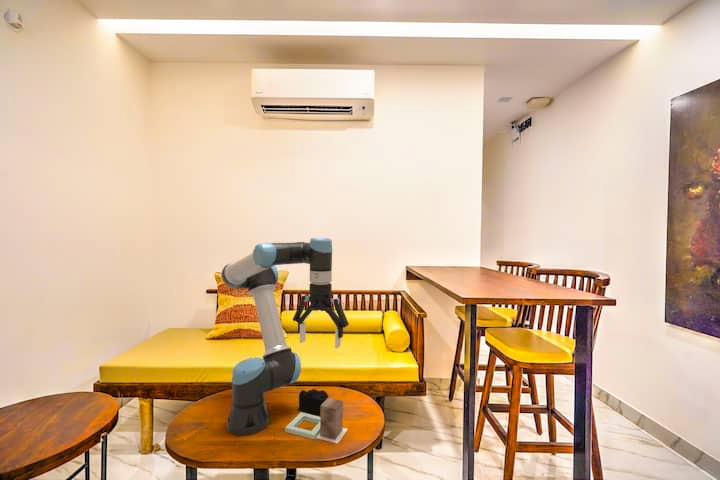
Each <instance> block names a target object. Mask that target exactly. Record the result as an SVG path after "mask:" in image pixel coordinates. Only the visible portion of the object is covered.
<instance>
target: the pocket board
mask: <svg viewBox="0 0 720 480" xmlns="http://www.w3.org/2000/svg"><path fill="white" fill-rule="evenodd" d="M304 421H305V422H309V423H313V424H316V425H315V426H314V427H313V428H312V429H311V430H309V429H305V428H302V427H299V425H301V424H302V423H303V422H304ZM284 428H285V429H284V431H285V433H286V434H291V435H296V436H298V437H303V438H306V439H307V438H308V439H310V440H315V439H317V438H316V437H317V436H318V434H319V433H320V417H319V416H314V415H311V414H308V413H306V412H303V411H301V412H299V413H298V415H296V417H294V418H293V419H292V421H290V423H289V424H287V425H286V426H285V427H284Z"/></svg>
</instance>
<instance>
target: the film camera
mask: <svg viewBox="0 0 720 480" xmlns="http://www.w3.org/2000/svg"><path fill="white" fill-rule="evenodd" d="M327 398H329V395H328V393H327V391H326V390H323V389H322V390H318V389H315V388H311V389H309V390H308V391H306V390H304V389H302V390H301V391H300V392H299V395H298V410H299V411H301V412H302V413H306V414H310V415H314V416H319V417H320V408H321V405H322V403H323V402H324V401H325V400H326V399H327Z"/></svg>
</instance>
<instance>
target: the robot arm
mask: <svg viewBox="0 0 720 480" xmlns="http://www.w3.org/2000/svg"><path fill="white" fill-rule="evenodd" d="M332 241H333V240H332V239H331V238H330V237H311V238H310V239H309V242H305V241H297V242H263V243H257V244H256V245H255V246H254V248H253V251H252V252H251V253H250V254H249V255H246V256H245V257H243V258H241V259H239V260H238V261H237V260H234V261H231V262H229V263H227V264H226V265H225V266H224V267H223V269H222V270H221V274H220V275H221V280H222V282H223V283H224V285H226V286H227V287H229V288H230V289H234V290H243V289H244V290H245V289H247V291H248V295H250V296H252V297H253V301H254V306H255V310H256V314H257V318H258V324H259V329H260V332H261V336H262V340H263V341H262V343H263V345H264V351H265V352H264V353H263V355H262V358H261V357H249V358H246V359H243V360H241V361H239V362H238V363H236V364H235V366H234V367H233V368H232V374H231V389H232V390H231V393H232V394H231V398H232V399H231V408H230V411H229V414H228V418H227V420H226V427H227V428H226V429H227V431H228V432H229V433H230V434H232V435H235V436H249V435H250V436H251V435H253V434H257V433H259V432H261V431H263V430H264V429H265V428H266V427H267V426H268V425H269V422H270V413H269V411H268V408H267V404H266V401H265V393H268V392H270V391H273V390H277V389H280V388H282V387H285V386H289V385H290V384H293V383H296V381H298V380H299V378H300V375H301V372H302V363H301V359H300V356H299V355H298V353H297V352H294V351H292V347H290V346H288V344H287V342H286V338H285V335H284V334H285V333H284V330H283V326H282V321H281V318H280V315H279V314H280V313H279V310H278V305H277V302H276V296H275V293H274V290H276V285H277V284H278V282H279V272H278V268H277V266H281V265H298V264H309V282H310V283H309V291H308V292H309V295H308V294H303V295H302V296H301V297H300V303H299V304H298V307H297V309H296V311H295V314H294V315H293V318H292V321H293V322H296V323H297V332H298V333H299V343H300V344H302V343H304V342H305V341H306V339H307V338H306V337H307V336H306V335H307V334H306V333H307V332H306V328H307V323H306V322H305V320H306V319H307V318H308V317H309V315H310V314H311V313H312V312H313V311H320V312H322V311H324V312H325V313H327V314H328V316H329V318H330V319H331V320H332V322H333V323H334V325H335V326H336V328H335V331H334V332H335V333H334V334H335V335H334V336H335V337H334V338H335V339H334V341H335V342H334V343H335V345H334V348H335V349H338V348H340V347H341V345H342V343H341V341H342V340H341V339H342V338H343V336H344V329H345V328H346V327H348V326H349V325H350V323H349V322H348V319H347V317H346V314H345V312H344V309H343V306H342V304H341V298H340V297H337V298H332V291H333V290H332V280H333V279H332V278H333V276H332V274H333V271H332V269H333V268H332V267H333V242H332ZM308 302H309V304H310V305H309V306H308V307H307V309H306V310H305V307H306V306H307V303H308ZM332 305H333V306H334V308H333V306H332ZM334 309H335V310H334ZM304 310H305V311H304Z"/></svg>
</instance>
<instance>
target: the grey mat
mask: <svg viewBox="0 0 720 480" xmlns="http://www.w3.org/2000/svg"><path fill="white" fill-rule="evenodd" d="M348 430H349V429H348V428H345V427H342V432H341V433H340V434H339V436H338V437H337V438H336V440H334V439H330V438H327V437H323V436H320V433H319V434H318V436H317V437H316V438H315V439H319V440H322V441H327V442H330V443H335V444H338V443H339V442H340V441H341V440H342V438H343V437H344V436H345V434H346V432H347V431H348Z"/></svg>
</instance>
